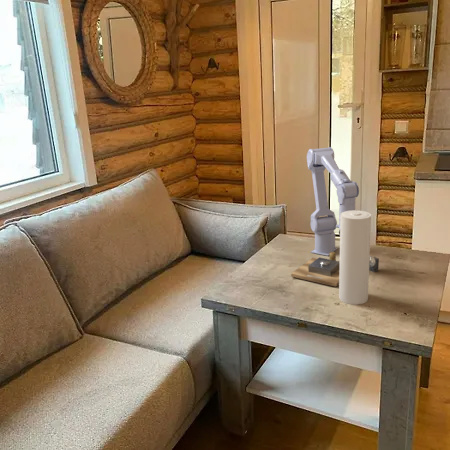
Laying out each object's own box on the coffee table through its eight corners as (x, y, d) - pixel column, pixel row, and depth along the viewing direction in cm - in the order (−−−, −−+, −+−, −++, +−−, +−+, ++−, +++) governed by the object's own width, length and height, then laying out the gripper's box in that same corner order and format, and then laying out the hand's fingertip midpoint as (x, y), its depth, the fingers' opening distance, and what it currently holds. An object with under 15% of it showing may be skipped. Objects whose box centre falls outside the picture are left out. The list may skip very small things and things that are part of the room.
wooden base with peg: (313, 260, 185) (313, 248, 184) (355, 268, 175) (356, 256, 173) (291, 276, 172) (291, 263, 170) (336, 286, 161) (336, 273, 160)
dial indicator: (372, 268, 176) (373, 253, 174) (379, 271, 172) (380, 256, 170) (365, 269, 175) (366, 255, 173) (372, 273, 171) (373, 258, 169)
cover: (319, 263, 179) (319, 256, 178) (340, 268, 173) (340, 260, 172) (308, 271, 172) (308, 264, 171) (330, 276, 167) (330, 268, 166)
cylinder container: (369, 305, 148) (372, 217, 139) (339, 303, 150) (341, 217, 141) (366, 292, 157) (369, 208, 148) (338, 291, 159) (339, 208, 150)
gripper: (337, 208, 177) (336, 241, 181) (334, 220, 164) (334, 254, 168) (356, 209, 175) (355, 242, 179) (355, 220, 162) (354, 255, 166)
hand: (346, 248), depth 174 cm, fingers closed
